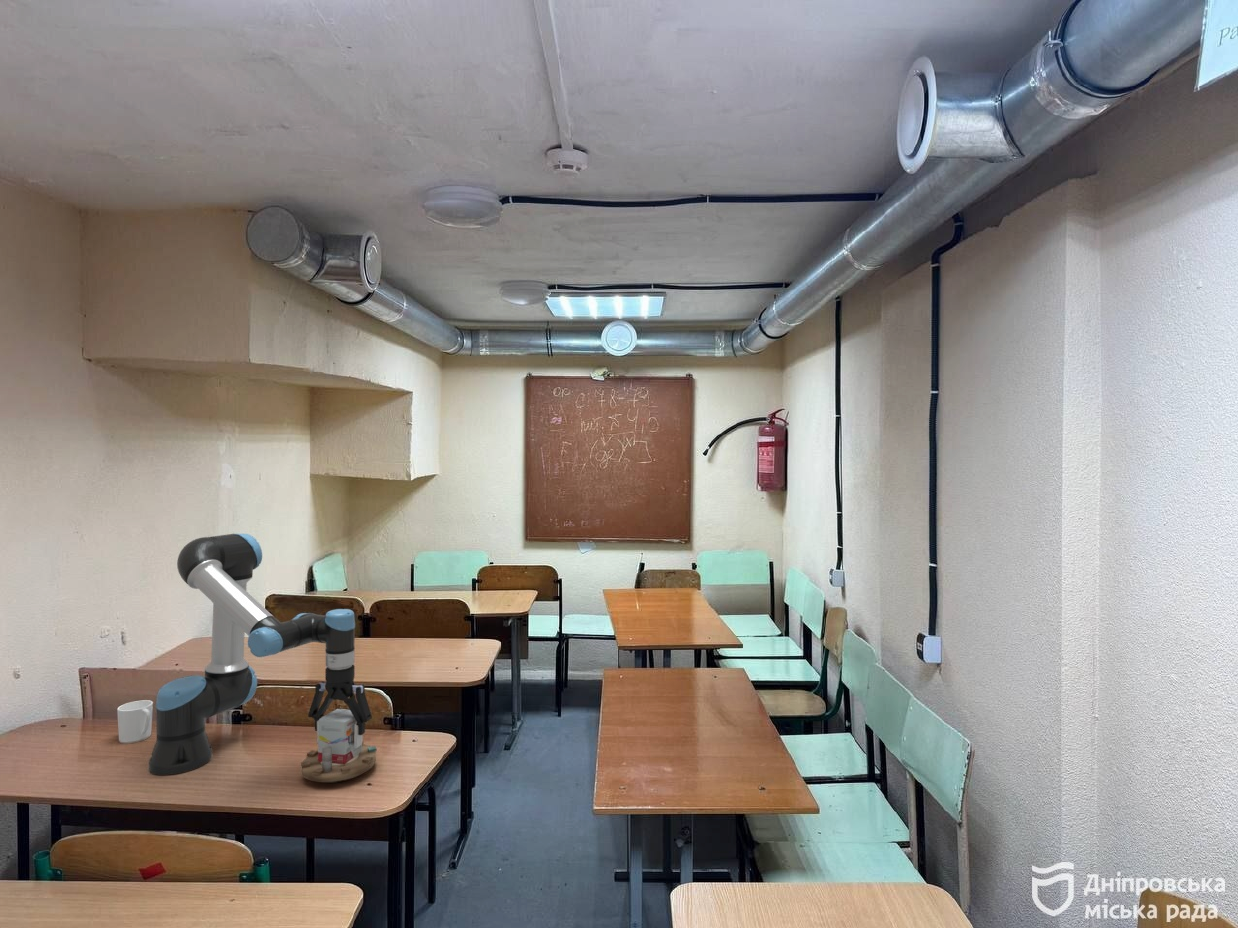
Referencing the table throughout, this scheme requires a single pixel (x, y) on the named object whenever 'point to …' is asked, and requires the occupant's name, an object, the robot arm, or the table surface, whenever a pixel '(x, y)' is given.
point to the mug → (135, 721)
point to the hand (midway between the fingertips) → (339, 743)
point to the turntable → (337, 765)
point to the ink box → (338, 736)
